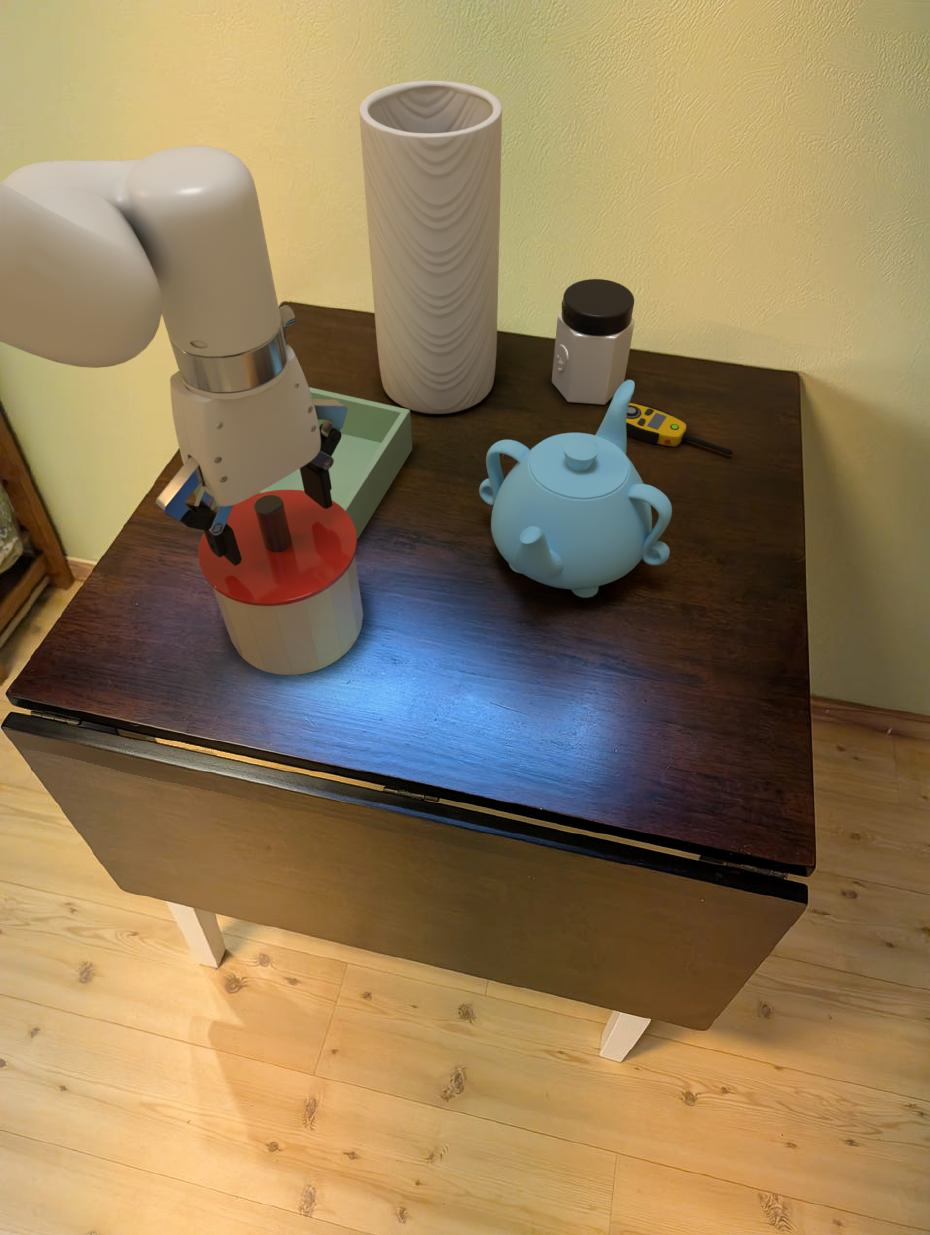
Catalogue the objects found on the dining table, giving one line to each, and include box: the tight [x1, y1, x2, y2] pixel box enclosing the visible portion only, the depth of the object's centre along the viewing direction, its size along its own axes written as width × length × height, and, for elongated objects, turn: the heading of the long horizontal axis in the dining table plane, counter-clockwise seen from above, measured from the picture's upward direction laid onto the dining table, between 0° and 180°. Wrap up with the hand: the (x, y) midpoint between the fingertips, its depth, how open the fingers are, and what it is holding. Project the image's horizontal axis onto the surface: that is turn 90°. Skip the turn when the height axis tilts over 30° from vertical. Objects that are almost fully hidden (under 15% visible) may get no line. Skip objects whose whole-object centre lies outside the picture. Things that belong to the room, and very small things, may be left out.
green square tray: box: [193, 386, 413, 541], centre depth 92 cm, size 18×18×6 cm
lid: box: [197, 490, 358, 606], centre depth 72 cm, size 14×14×6 cm
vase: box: [358, 80, 503, 415], centre depth 93 cm, size 14×14×32 cm
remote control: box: [626, 402, 734, 455], centre depth 98 cm, size 5×2×15 cm
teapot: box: [478, 379, 673, 599], centre depth 82 cm, size 16×20×14 cm
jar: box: [551, 278, 635, 406], centre depth 101 cm, size 9×8×12 cm
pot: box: [212, 555, 364, 676], centre depth 77 cm, size 13×13×10 cm
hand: (274, 526), depth 72 cm, fingers open, 9 cm apart
